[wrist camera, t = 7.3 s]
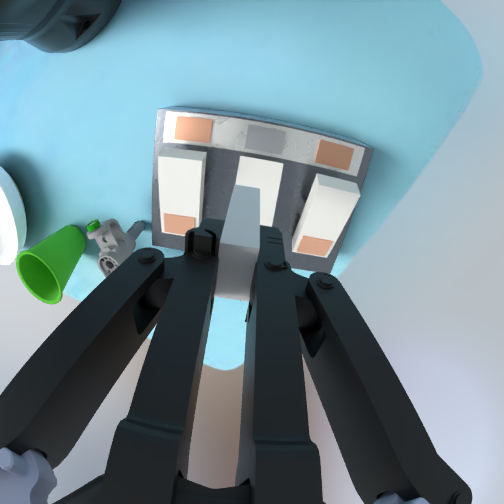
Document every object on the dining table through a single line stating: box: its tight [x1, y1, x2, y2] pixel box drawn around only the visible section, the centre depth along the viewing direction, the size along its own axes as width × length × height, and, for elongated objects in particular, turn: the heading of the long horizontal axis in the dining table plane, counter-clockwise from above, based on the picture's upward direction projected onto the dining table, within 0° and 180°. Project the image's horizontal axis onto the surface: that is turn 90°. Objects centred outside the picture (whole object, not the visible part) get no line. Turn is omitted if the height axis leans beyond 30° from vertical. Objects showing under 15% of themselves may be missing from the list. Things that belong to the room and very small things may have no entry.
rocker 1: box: [158, 148, 207, 236], centre depth 25 cm, size 9×4×2 cm, turn 170°
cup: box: [16, 225, 86, 304], centre depth 33 cm, size 9×9×11 cm
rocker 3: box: [292, 173, 361, 258], centre depth 26 cm, size 9×4×2 cm, turn 170°
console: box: [152, 106, 373, 274], centre depth 30 cm, size 16×22×6 cm
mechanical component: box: [86, 219, 145, 278], centre depth 32 cm, size 3×10×10 cm, turn 15°
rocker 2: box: [235, 156, 283, 227], centre depth 26 cm, size 9×4×2 cm, turn 171°
